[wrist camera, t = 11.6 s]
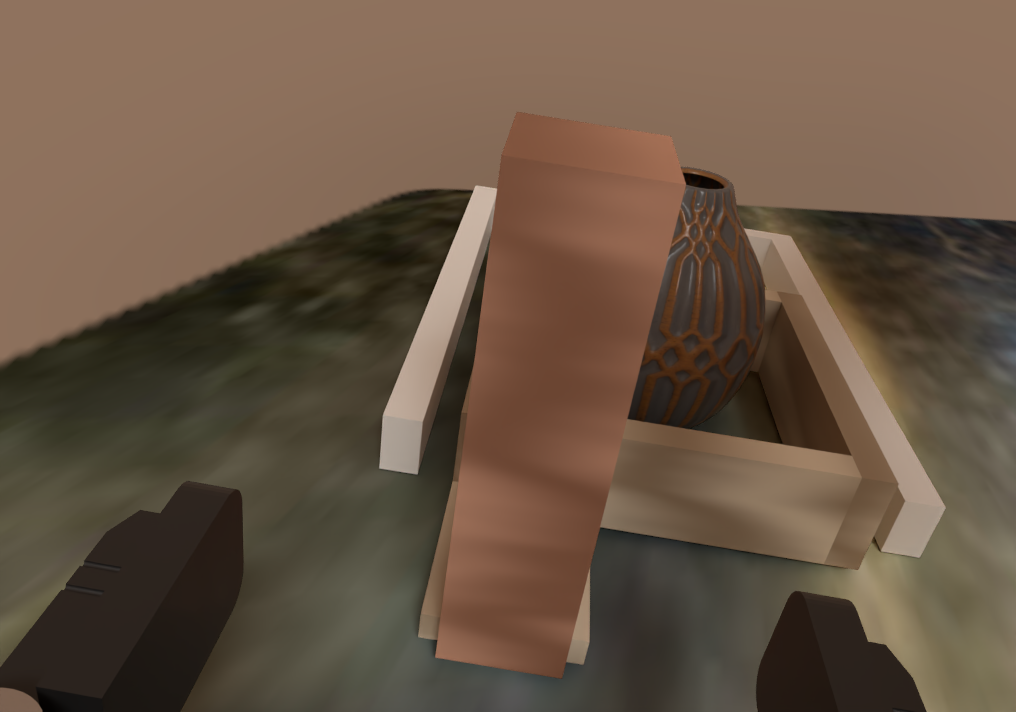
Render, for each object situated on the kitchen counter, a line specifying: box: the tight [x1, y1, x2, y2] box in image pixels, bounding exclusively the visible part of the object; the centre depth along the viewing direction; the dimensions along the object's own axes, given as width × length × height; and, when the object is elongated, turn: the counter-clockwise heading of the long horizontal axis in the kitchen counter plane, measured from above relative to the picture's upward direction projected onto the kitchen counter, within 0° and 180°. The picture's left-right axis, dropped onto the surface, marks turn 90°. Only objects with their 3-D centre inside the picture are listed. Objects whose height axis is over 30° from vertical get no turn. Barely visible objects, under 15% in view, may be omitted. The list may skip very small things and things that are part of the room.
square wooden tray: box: [418, 112, 899, 679], centre depth 24 cm, size 12×18×12 cm
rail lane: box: [379, 186, 946, 558], centre depth 34 cm, size 17×22×2 cm
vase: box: [627, 167, 765, 429], centre depth 28 cm, size 7×7×9 cm
